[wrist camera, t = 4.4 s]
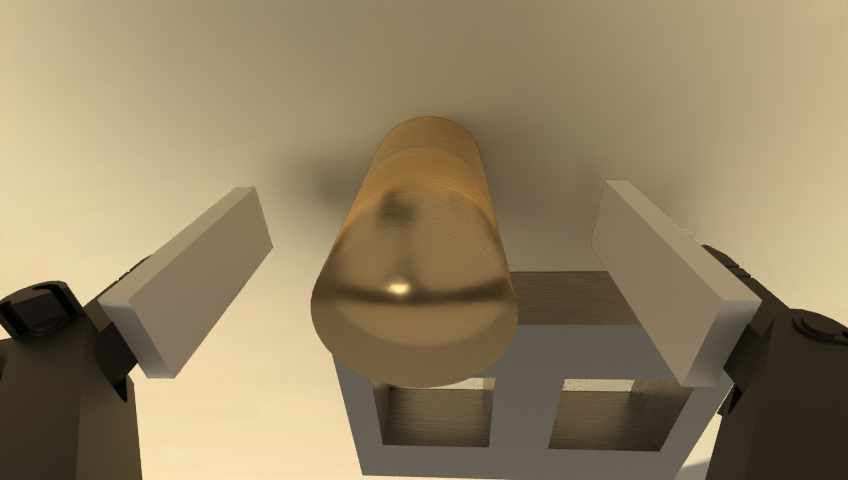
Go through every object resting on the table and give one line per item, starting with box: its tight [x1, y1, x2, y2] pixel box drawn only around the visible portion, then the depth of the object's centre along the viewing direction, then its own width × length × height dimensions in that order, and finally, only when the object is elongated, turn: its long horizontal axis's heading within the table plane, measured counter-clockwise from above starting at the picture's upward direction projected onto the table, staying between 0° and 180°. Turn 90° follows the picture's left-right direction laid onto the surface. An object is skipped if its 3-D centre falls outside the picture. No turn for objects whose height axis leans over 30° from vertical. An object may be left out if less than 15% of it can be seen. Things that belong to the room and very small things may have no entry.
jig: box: [332, 272, 734, 480], centre depth 22 cm, size 20×14×4 cm
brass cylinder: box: [311, 117, 518, 388], centre depth 13 cm, size 5×5×10 cm
